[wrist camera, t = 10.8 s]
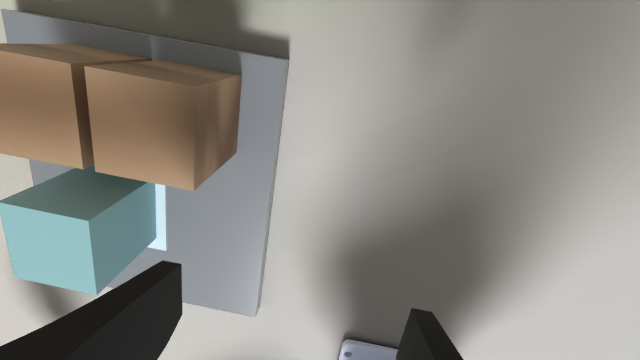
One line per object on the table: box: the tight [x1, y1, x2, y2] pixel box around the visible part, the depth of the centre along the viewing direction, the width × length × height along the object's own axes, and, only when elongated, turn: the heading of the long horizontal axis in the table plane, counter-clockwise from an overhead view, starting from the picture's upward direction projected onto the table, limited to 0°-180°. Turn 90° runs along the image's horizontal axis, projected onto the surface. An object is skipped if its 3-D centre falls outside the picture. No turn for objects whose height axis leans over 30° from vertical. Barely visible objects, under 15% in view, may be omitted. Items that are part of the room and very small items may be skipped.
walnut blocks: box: [0, 44, 242, 191], centre depth 15 cm, size 4×8×5 cm, turn 81°
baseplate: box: [1, 9, 289, 317], centre depth 19 cm, size 16×14×1 cm
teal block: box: [0, 165, 157, 295], centre depth 17 cm, size 4×4×5 cm
